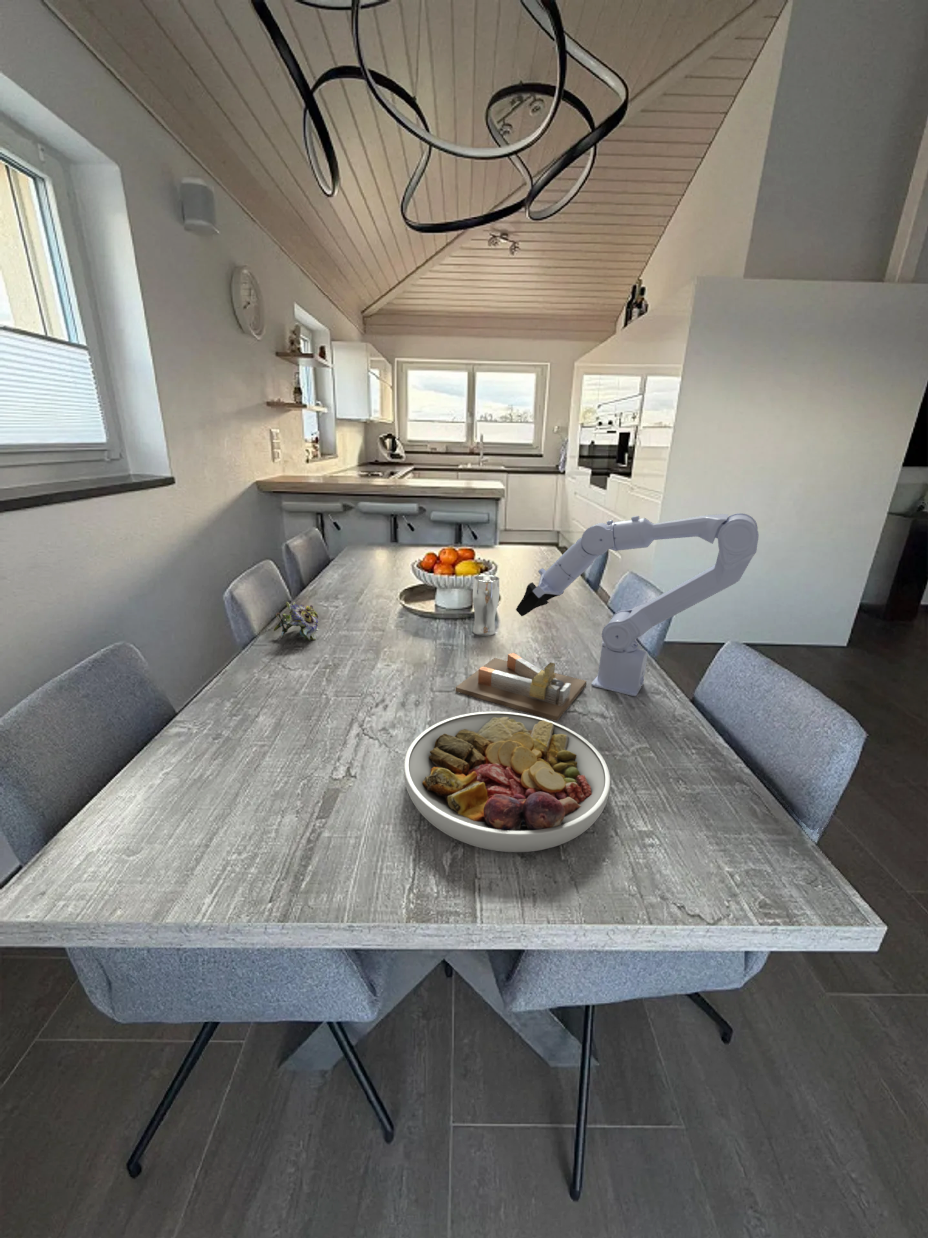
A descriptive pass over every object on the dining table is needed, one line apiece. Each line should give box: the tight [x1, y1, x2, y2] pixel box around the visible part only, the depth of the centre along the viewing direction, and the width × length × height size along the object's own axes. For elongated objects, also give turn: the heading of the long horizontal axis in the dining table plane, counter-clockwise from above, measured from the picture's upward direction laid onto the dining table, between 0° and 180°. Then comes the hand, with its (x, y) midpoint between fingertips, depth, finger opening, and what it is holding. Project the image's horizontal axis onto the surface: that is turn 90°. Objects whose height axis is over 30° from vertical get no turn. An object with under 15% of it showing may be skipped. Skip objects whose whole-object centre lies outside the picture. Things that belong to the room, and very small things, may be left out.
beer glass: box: [472, 574, 500, 637], centre depth 139 cm, size 7×7×15 cm
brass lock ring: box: [529, 662, 556, 700], centre depth 104 cm, size 3×6×6 cm, turn 151°
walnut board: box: [455, 657, 587, 722], centre depth 111 cm, size 22×18×1 cm
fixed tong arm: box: [478, 665, 571, 706], centre depth 107 cm, size 18×4×3 cm, turn 61°
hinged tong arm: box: [506, 652, 564, 699], centre depth 111 cm, size 17×2×3 cm, turn 30°
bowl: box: [403, 711, 611, 853], centre depth 78 cm, size 30×30×8 cm
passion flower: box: [273, 601, 319, 642], centre depth 132 cm, size 11×11×12 cm
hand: (525, 608), depth 119 cm, fingers open, 7 cm apart
